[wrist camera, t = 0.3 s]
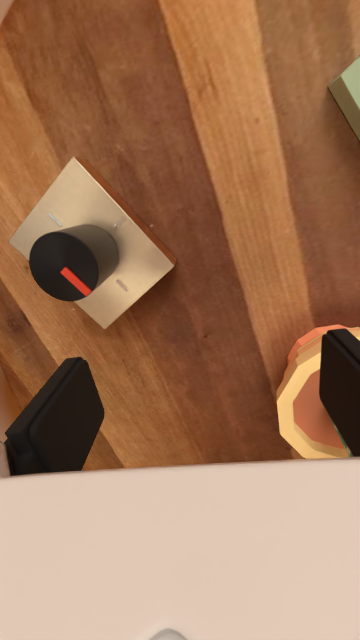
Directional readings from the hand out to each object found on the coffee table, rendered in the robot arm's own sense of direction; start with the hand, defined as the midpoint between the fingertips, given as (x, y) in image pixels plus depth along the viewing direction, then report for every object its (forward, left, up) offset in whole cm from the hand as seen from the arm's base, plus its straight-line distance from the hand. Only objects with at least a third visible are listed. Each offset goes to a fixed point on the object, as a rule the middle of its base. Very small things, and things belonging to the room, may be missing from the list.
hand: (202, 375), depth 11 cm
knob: (-8, -6, -16) cm, 19 cm away
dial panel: (-8, -6, -19) cm, 21 cm away
